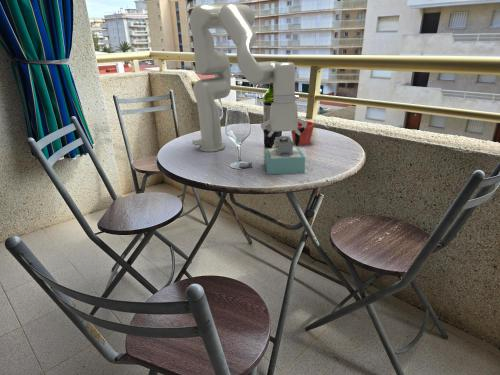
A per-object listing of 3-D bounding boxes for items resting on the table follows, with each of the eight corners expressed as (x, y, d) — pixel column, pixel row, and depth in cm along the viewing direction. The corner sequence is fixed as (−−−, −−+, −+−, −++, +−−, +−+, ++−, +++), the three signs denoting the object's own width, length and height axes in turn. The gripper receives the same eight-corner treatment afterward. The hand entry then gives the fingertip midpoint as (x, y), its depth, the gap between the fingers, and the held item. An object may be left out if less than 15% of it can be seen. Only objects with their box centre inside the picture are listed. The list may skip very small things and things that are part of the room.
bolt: (239, 163, 124) (239, 163, 126) (239, 168, 125) (239, 167, 127) (251, 162, 125) (251, 162, 127) (252, 167, 125) (251, 167, 127)
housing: (274, 148, 126) (274, 133, 124) (288, 147, 126) (288, 132, 124) (278, 157, 116) (278, 141, 114) (293, 156, 116) (293, 140, 114)
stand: (267, 174, 118) (267, 158, 115) (264, 163, 129) (264, 148, 126) (304, 172, 118) (305, 156, 116) (298, 161, 129) (299, 146, 127)
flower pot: (313, 146, 146) (314, 126, 142) (289, 146, 148) (289, 126, 144) (312, 140, 156) (313, 120, 152) (290, 140, 158) (290, 120, 154)
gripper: (305, 96, 116) (304, 141, 123) (259, 98, 116) (260, 143, 123) (310, 99, 109) (308, 147, 117) (260, 102, 109) (261, 149, 116)
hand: (283, 145), depth 120 cm, fingers open, 9 cm apart
